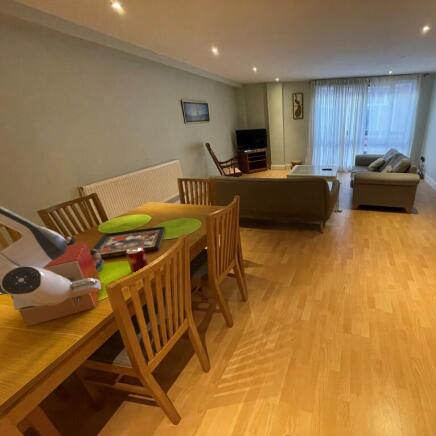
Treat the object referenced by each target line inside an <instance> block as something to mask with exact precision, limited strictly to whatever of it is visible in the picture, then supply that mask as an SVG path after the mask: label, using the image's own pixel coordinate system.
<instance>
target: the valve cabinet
mask: <svg viewBox="0 0 436 436" xmlns="http://www.w3.org/2000/svg"><path fill="white" fill-rule="evenodd" d="M74 261H77V262H78V264H79V267H80V269H81V272H82V274H83V277H84V279H88V278H93V279H97V280H100V282H101V287H102V286H103V283H102V280H101V278H100V275H99V271H98V272H97V269H96V267H95V264H94V261H93V259H92V256H91V253H90V248H89V245H88V243H87V242H86V241H84V242H78V243H75V244H74V245H68V246H67V249H66V252H65V253H64V254H63V255H61V256H60V257H58V258H57V259H55V260H53V261H51V262H50V263H49V264H47V265H46V266H45V267H50V266H55V265H59V264H64V263H69V262H74ZM45 267H43V268H45ZM100 292H101V290H99V291H96V292H92V293H90V294H91V296H92V299H93V301H94V304H95V307H96V306H97V303H98V299H99V295H100Z"/></svg>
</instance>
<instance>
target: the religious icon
mask: <svg viewBox="0 0 436 436" xmlns="http://www.w3.org/2000/svg"><path fill="white" fill-rule="evenodd" d="M165 231H166V226H157V227H148V228H141V229H140V228H139V229H133V230H125V231H116V232H109V233H104V234H103V235H102V237H101V238H100V239H99V240H98V242H96V244H95V245H94V246H93V247H92V249H93V248H94V249H97V250H98V252H99V254H100V255H101V259H106V258H107V259H108V258H112V257H113V258H115V257H120V256H121V257H122V256H126V251H127V250H128V249H130V248H133V247H142V248H143V249H144V252H145V253H146V252H147V253H148V252H153V251H159V249H160V247H161V245H162V241H163V237H164V234H165Z"/></svg>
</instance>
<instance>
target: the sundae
mask: <svg viewBox="0 0 436 436" xmlns="http://www.w3.org/2000/svg"><path fill="white" fill-rule="evenodd" d="M60 235H61V236H63V237H64V238H65V240H66V241H67V246H68V245H74V244H76V240H77V239H76V238H74V237H70V236H66V235H63V234H62V233H60Z"/></svg>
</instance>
